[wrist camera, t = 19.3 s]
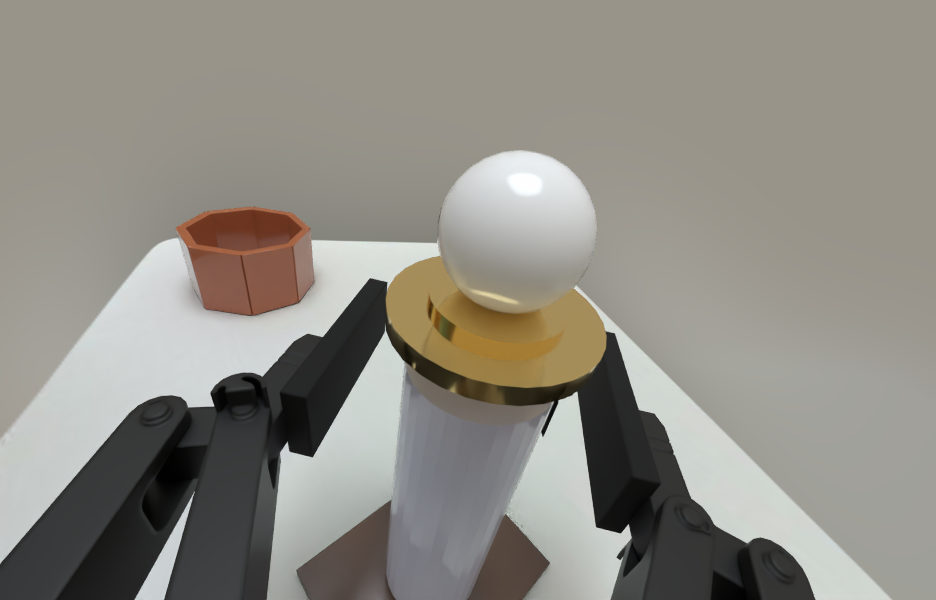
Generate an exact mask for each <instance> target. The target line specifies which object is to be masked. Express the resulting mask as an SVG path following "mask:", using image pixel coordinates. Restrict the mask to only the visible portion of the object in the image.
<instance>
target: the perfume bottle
mask: <svg viewBox="0 0 936 600" xmlns="http://www.w3.org/2000/svg"><path fill="white" fill-rule="evenodd" d="M596 237H597V220H596V214H595V208H594V206H593V203H592V201H591V198H590V196H589V193H588V191H587V189H586V188H585V186H584V185H583V183H582V182H581V180H580V179H579V177H578V176H577V175H575V174H574V173H573V172H572V171H571V170H570V169H569V168H568V167H567V166H566V165H565V164H563V163H561V162H559V161H558V160H556V159H554V158H552V157H550V156H548V155H545V154H542V153H539V152H534V151H528V150H518V151H505V152H501V153H498V154H495V155H492V156H488V157H487V158H485V159H483V160H481V161H480V162H478V163H476V164H474V165H473V166H471V167H470V168H469V169H468V170H467V171H466V172H464V173H463V174H462V175H461V176H460V177H459V179H458V180H457V181H456V183H455V184H454V186H453V187H452V188H451V190H450V191H449V192H448V194H447V197H446V199H445V201H444V203H443V205H442V208H441V212H440V216H439V220H438V239H437V243H438V248H439V254H440V256H438V257H432V258H429V259H426V260H423V261H419V262H417V263H415V264H413V265H411V266H409V267H407V268H405V269H404V270H403V271H402V272H401V273H399V274H398V275H397V276H396V277H395V278H394V280H393V281H392V283H391V284H390V286H389V288H388V292H387V295H386V302H385V325H386V332H387V334H388V336H389V339H390V341H391V344H392V346H393V347H394V348H395V350H396V351H397V352H398V354H399V355H400V356H401V358H402V359H403V360H404V361H405V363H404V374H403V385H402V395H401V406H400V417H399V427H398V438H397V448H396V459H395V470H394V480H393V491H392V502H391V512H390V523H389V534H388V544H387V555H386V576H387V581H388V585H389V588H390V590H391V592H392V594H393V596H394V598H395V599H396V600H467V599H468V597H469V596H470V594H471V592H472V590H473V588H474V586H475V584H476V581H477V579H478V577H479V574H480V572H481V570H482V567H483V565H484V563H485V560H486V558H487V556H488V553H489V551H490V549H491V547H492V544H493V542H494V540H495V537H496V535H497V533H498V530H499V528H500V526H501V523H502V521H503V519H504V516H505V514H506V512H507V509H508V507H509V505H510V503H511V500H512V498H513V496H514V493H515V491H516V489H517V486H518V484H519V482H520V479H521V477H522V475H523V472H524V470H525V468H526V466H527V463H528V461H529V459H530V456H531V454H532V452H533V449H534V447H535V445H536V442H537V440H538V438H539V435H540V433H542V436H544V434H545V432H546V429H547V427H548V425H549V423H550V420H551V418H552V416H553V414H554V411H555V409H556V407H557V405H558V400H560V399H564V398H566V397H568V396H572V395H573V393H575V392H577V391H579V390H580V389H582V388H583V387H584V386H585V385H586V384H587V382H588V381H589V380H590V379H591V378H592V377H593V375H594V373H595V371H596V369H597V367H598V365H599V362H600V360H601V358H602V356H603V354H604V352H605V349H606V337H607V336H606V332H605V328H604V325H603V322H602V320H601V319H600V317H599V315H598V313H597V312H596V310H595V309H594V308H593V307H592V306H591V304H590V303H589V302H588V301H587V300H586V299H585V298H584V297H583V296H582V295H580V294H579V293H578V292H577V291H576V290H575V289H573V288H574V287H575V286H576V284H577V283H578V282H579V281H580V279H581V278H582V277H583V275H584V274H585V272H586V270H587V268H588V266H589V264H590V263H591V260H592V256H593V253H594V249H595V245H596Z"/></svg>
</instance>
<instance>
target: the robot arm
mask: <svg viewBox="0 0 936 600" xmlns="http://www.w3.org/2000/svg"><path fill="white" fill-rule="evenodd" d="M386 295H387V282H384V281H379V280H375V279H371V278H370V279H369V280H368V281H367V283H366V284H365V285H364V286H363V288H362V289H361V290H360V291H359V293H358V294H357V295H356V296H355V298H354V299H353V300H352V302H351V303H350V304H349V305H348V307H347V308H346V309H345V310H344V312H343V313H342V314H341V315H340V317H339V318H338V319H337V320H336V322H335V323H334V324H333V325H332V327H331V328H330V329H329V330H328V332H327V333H326V334H325V335H324V337H319V336H315V335H311V334H306V335H305V336H303V337H301V338H299V339H297V340H296V341H294V342H293V343H292V344H291V346H290V347H289V348H288V349H287V350H286V351H285V353H283V355H282V356H281V357H280V358H279V359H278V361H276V362H275V363H274V365H273V366H272V367H271V368H270V369H269V370H268V371H267V372H266V374H265V375H264V376H263V377H262V376H260V375H257V374H254V373H239V374H235V375H231V376H229V377H227V378H225V379H223V380H221V381H220V382H219V383H218V384H216V385H215V386H214V388H213V390H212V391H211V393H210V394H211V397H212V400H213V403H214V406H215V407H192V408H188V406H187V403H186V401H185V400H183V399H182V398H181V397H177V396H172V395H171V396H160V397H157V398H153V399H150V400H148V401H146V402H144V403H142V404H140V405H138V406H137V407H136V408H135V409H134V410H133V411H131V412H130V413H129V414H128V416H127V417H126V418H125V419H124V420H123V421H122V423H121V424H120V425H119V426H118V427H117V428H116V430H115V431H114V432H113V433H112V434H111V435H110V437H109V438H108V439H107V440H106V441H105V442H104V444H103V445H102V446H101V447H100V448H99V449H98V451H97V452H96V453H95V454H94V455H93V456H92V458H91V459H90V460H89V461H88V462H87V463H86V465H85V466H84V467H83V468H82V469H81V470H80V472H79V473H78V474H77V475H76V476H75V477H74V479H73V480H72V481H71V482H70V483H69V484H68V486H67V487H66V488H65V489H64V490H63V491H62V493H61V494H60V495H59V496H58V497H57V498H56V500H55V501H54V502H53V503H52V504H51V505H50V507H49V508H48V509H47V510H46V511H45V512H44V514H43V515H42V516H41V517H40V518H39V519H38V521H37V522H36V523H35V524H34V525H33V526H32V528H31V529H30V530H29V531H28V532H27V533H26V535H25V536H24V537H23V538H22V539H21V540H20V542H19V543H18V544H17V545H16V546H15V547H14V549H13V550H12V551H11V552H10V553H9V554H8V556H7V557H6V558H5V559H4V560H3V561H2V563H1V564H0V600H135V598H136V596H137V594H138V592H139V591H140V589H141V587H142V585H143V583H144V581H145V580H146V578H147V576H148V574H149V572H150V571H151V569H152V567H153V565H154V563H155V562H156V560H157V558H158V556H159V554H160V553H161V551H162V549H163V547H164V545H165V544H166V542H167V540H168V538H169V536H170V535H171V533H172V531H173V529H174V527H175V526H176V524H177V522H178V520H179V518H180V517H181V515H182V513H183V511H184V509H185V508H186V506H187V504H188V502H189V500H190V499H191V497H192V495H193V493H194V491H195V493H194V496H193V500H192V503H191V507H190V510H189V514H188V517H187V521H186V524H185V528H184V531H183V535H182V539H181V542H180V546H179V549H178V553H177V556H176V560H175V563H174V567H173V570H172V574H171V577H170V581H169V584H168V588H167V592H166V595H165V599H164V600H266V599H267V589H268V580H269V570H270V560H271V550H272V541H273V531H274V521H275V512H276V502H277V492H278V483H279V473H280V463H281V458H280V452H281V450H282V449H283V447H284V446H285V444H286V443H287V441H288V446H289V451H290V452H293V453H297V454H301V455H305V456H309V457H313V456H314V454H315V452H316V451H317V449H318V447H319V445H320V444H321V442H322V440H323V439H324V437H325V435H326V433H327V432H328V430H329V428H330V426H331V425H332V423H333V421H334V419H335V418H336V416H337V414H338V412H339V411H340V409H341V407H342V405H343V404H344V402H345V400H346V399H347V397H348V395H349V393H350V392H351V390H352V388H353V386H354V385H355V383H356V381H357V379H358V378H359V376H360V374H361V372H362V371H363V369H364V367H365V366H366V364H367V362H368V360H369V359H370V357H371V355H372V353H373V352H374V350H375V348H376V346H377V345H378V343H379V341H380V339H381V338H382V336H383V334H384V332H385V302H386ZM605 332H606V331H605ZM606 336H607V337H606V349H605V352H604V354H603V356H602V358H601V360H600V362H599V365H598V367H597V369H596V371H595V373H594V375H593V377H592V378H591V379H590V380H589V381H588V382H587V384H586V385H585V386H584V387H583V388H582V389H580V390H579V391H577V392H578V399H579V406H580V414H581V421H582V428H583V436H584V443H585V450H586V457H587V465H588V472H589V479H590V486H591V494H592V501H593V508H594V516H595V523H596V527H597V528H601V529H605V530H609V531H613V532H617V533H622V531H623V530H624V529H625V528H626V527H627V525H628V524H629V527H630V532H631V536H632V539H631V540H630V541H629V542H628V543H627V544H626V545H625V547H624V548H623V549H622V550H621V551H620V553H619V554H618V556H617V558H618V559H619V560H621V558H622V557H623V560H622V563H621V566H620V570H619V573H618V577H617V580H616V583H615V587H614V590H613V594H612V597H611V600H815V597H814V594H813V592H812V589H811V586H810V583H809V581H808V578H807V576H806V575H805V573H804V571H803V569H802V567H801V566H800V565H799V564H798V562H797V561H796V560H795V559H794V557H793V556H792V555H791V554H789V553H788V552H787V551H786V550H785V549H784V548H782V547H781V546H779V545H778V544H776V543H774V542H773V541H771V540H768V539H764V538H756V539H753V540H751V541H750V542H749V543H748V544H747V543H745V542H743V541H742V540H740V539H738V538H736V537H734V536H732V535H730V534H729V533H727V532H725V531H723V530H721V529H720V528H718V527H716V526H715V525H714V524H713V522H712V520H711V518H710V516H709V515H708V514H707V512H706V511H705V510H704V509H703V508H702V507H701V506H700V505H699V504H698V503H696V502H695V501H694V500H692V499H691V497H690V495H689V492H688V489H687V487H686V484H685V481H684V479H683V476H682V473H681V470H680V468H679V465H678V462H677V460H676V457H675V455H673V449H672V446H671V443H669V438H668V435H667V433H666V430H665V427H664V426H663V425H662V423H661V422H660V421H659V419H658V418H657V417H656V415H655V414H653V413H649V412H645V411H640V410H638V406H637V403H636V400H635V397H634V394H633V390H632V387H631V384H630V381H629V377H628V374H627V371H626V368H625V365H624V361H623V358H622V355H621V352H620V349H619V345H618V342H617V339H616V336H615V333H610V332H606Z"/></svg>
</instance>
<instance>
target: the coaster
mask: <svg viewBox="0 0 936 600" xmlns="http://www.w3.org/2000/svg"><path fill="white" fill-rule="evenodd" d="M391 502H392V500H390V501H389V502H388V503H386V504H385V505H384V506H382V507H381V508H379V509H378V510H377V511H375V512H374V513H373V514H371V515H370V516H369V517H367V518H366V519H365V520H363V521H362V522H361V523H359V524H358V525H357V526H355V527H354V528H353V529H351V530H350V531H349V532H347V533H346V534H344V535H343V536H342V537H340V538H339V539H338V540H336V541H335V542H334V543H332V544H331V545H330V546H328V547H327V548H326V549H324V550H323V551H322V552H320V553H319V554H318V555H316V556H315V557H314V558H312V559H311V560H309V561H308V562H307V563H305V564H304V565H303V566H301V567H300V568H299V569H297V575H298V577H299V579H300V581H301V583H302V585H303V587H304V589H305V591H306V594H307V596H308V598H309V600H396V599H395V598H394V596H393V594H392V592H391V590H390V588H389V585H388V581H387V576H386V555H387V544H388V534H389V523H390V512H391ZM549 564H550V562H549V561H548V560H547V559H546V558H545V557H544V556H543V555H542V554H541V552H540V551H539V550H538V549H537V548H536V547H535V546H534V545H533V544H532V542H531V541H530V540H529V539H528V538H527V537H526V536H525V535H524V534H523V533H522V531H521V530H520V529H519V528H518V527H517V526H516V525H515V524H514V523H513V522H512V520H511V519H510V518H509V517H508V516H507V515H506V514H505V516H504V519H503V521H502V523H501V526H500V528H499V530H498V533H497V535H496V537H495V540H494V542H493V544H492V547H491V549H490V551H489V553H488V556H487V558H486V560H485V563H484V565H483V567H482V570H481V572H480V574H479V577H478V579H477V581H476V584H475V586H474V588H473V590H472V592H471V594H470V596H469V597H468V599H467V600H522V599H523V598H524V597H525V595H526V594H527V593H528V592H529V590H530V589H531V588H532V586H533V585H534V584H535V582H536V581H537V580H538V578H539V577H540V576H541V575H542V573H543V572H544V571H545V569H546V568H547V567H548V565H549Z"/></svg>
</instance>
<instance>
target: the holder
mask: <svg viewBox="0 0 936 600" xmlns="http://www.w3.org/2000/svg"><path fill="white" fill-rule="evenodd" d="M176 232H177V235H178V238H179V242H180V245H181V249H182V252H183V256H184V259H185V263H186V266H187V269H188V273H189V276H190V280H191V283H192V287H193V289H194V290H195V292H196V294H197V296H198V297H199V299H200V301H201V303H202V304H203V306H204V308H206V309H209V310H216V311H223V312H230V313H237V314H244V315H252V314H253V315H256V314H260V313H264V312H267V311H271V310H274V309H278V308H281V307H285V306H289V305H292V304H296V303H298V302H300V300H301V299H302V298H303V296H304V295H305V294H306V292H307V291H308V290H309V288H310V287H311V286H312V284H313V283H314V271H313V258H312V245H311V232H310V228H309V227H308V226H307V225H306V224H305V223H304V222H303V221H301V220H300V219H299V218H298V217H297V216H296V215H294V214H292V213H289V212H283V211H277V210H270V209H264V208H258V207H244V208H234V209H224V210H214V211H207V212H203V213H201V214H200V215H198V216H196V217H194V218H192V219H190V220H189V221H187V222H185V223H183V224H181V225H179V226H178V227H177V228H176Z"/></svg>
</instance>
